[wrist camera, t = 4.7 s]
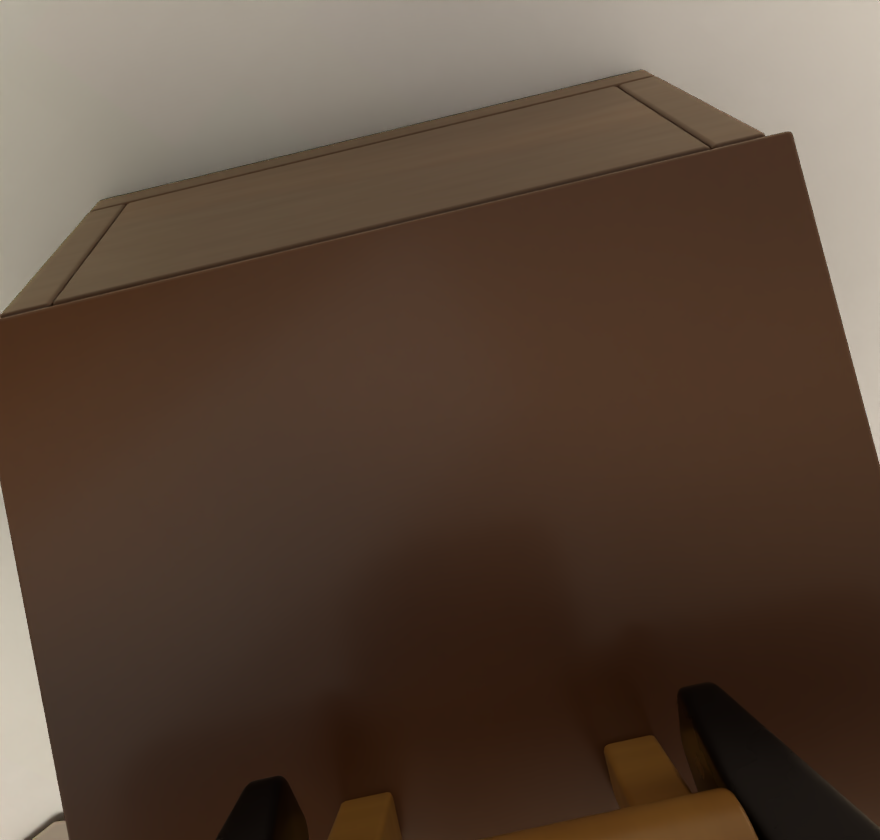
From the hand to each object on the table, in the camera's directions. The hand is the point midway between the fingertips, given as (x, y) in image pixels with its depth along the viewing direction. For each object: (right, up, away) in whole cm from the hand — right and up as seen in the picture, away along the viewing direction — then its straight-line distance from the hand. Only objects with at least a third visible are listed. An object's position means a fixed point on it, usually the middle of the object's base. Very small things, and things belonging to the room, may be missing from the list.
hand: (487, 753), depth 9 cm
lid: (0, 0, +2) cm, 2 cm away
